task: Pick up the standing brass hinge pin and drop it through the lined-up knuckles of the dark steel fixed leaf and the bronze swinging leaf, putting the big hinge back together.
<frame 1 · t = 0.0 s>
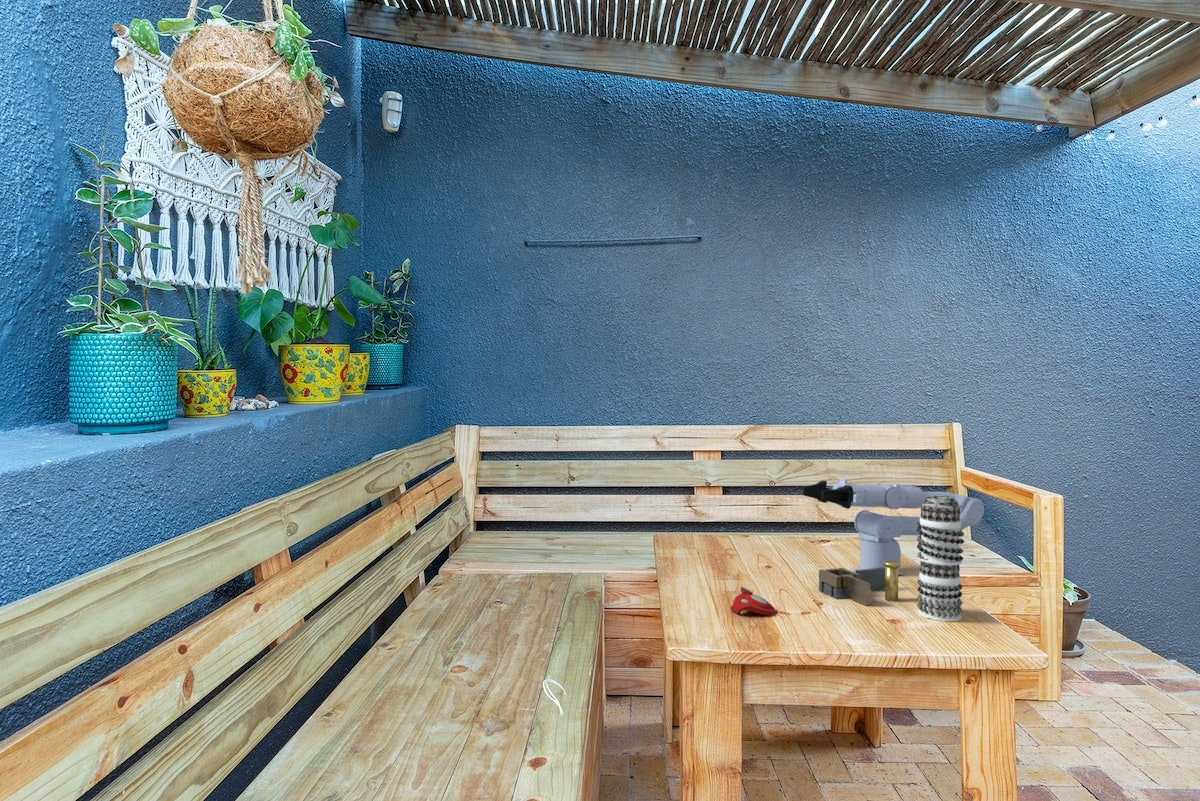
hand: (812, 493, 179), 22 cm above the table, tool horizontal, fingers open, 7 cm apart
fixed leaf: (839, 593, 168), on the table
hinge pin: (891, 600, 163), on the table
decorative candle: (939, 616, 152), on the table
tracker holder: (752, 610, 157), on the table
swing leaf: (848, 586, 165), point 3 cm above the table, hinge at 0.0°
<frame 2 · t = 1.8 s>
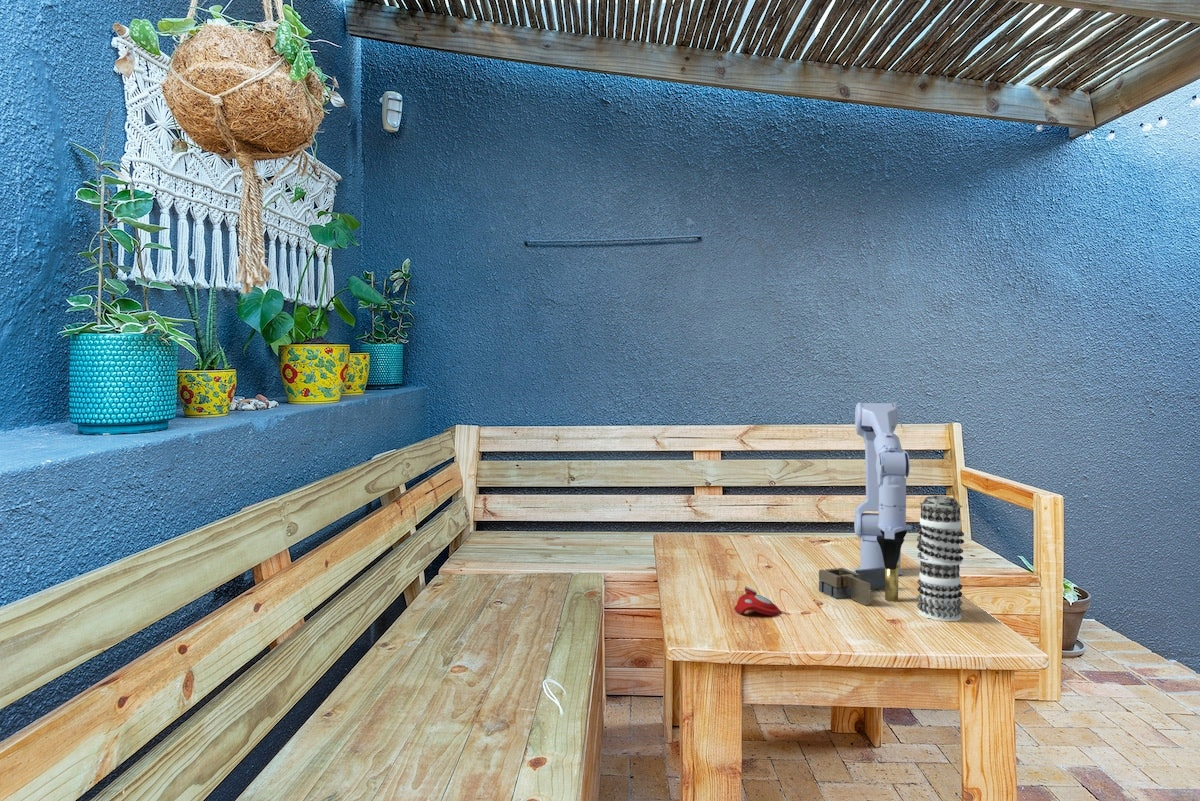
hand: (891, 564, 163), 8 cm above the table, tool pointing down, fingers open, 7 cm apart
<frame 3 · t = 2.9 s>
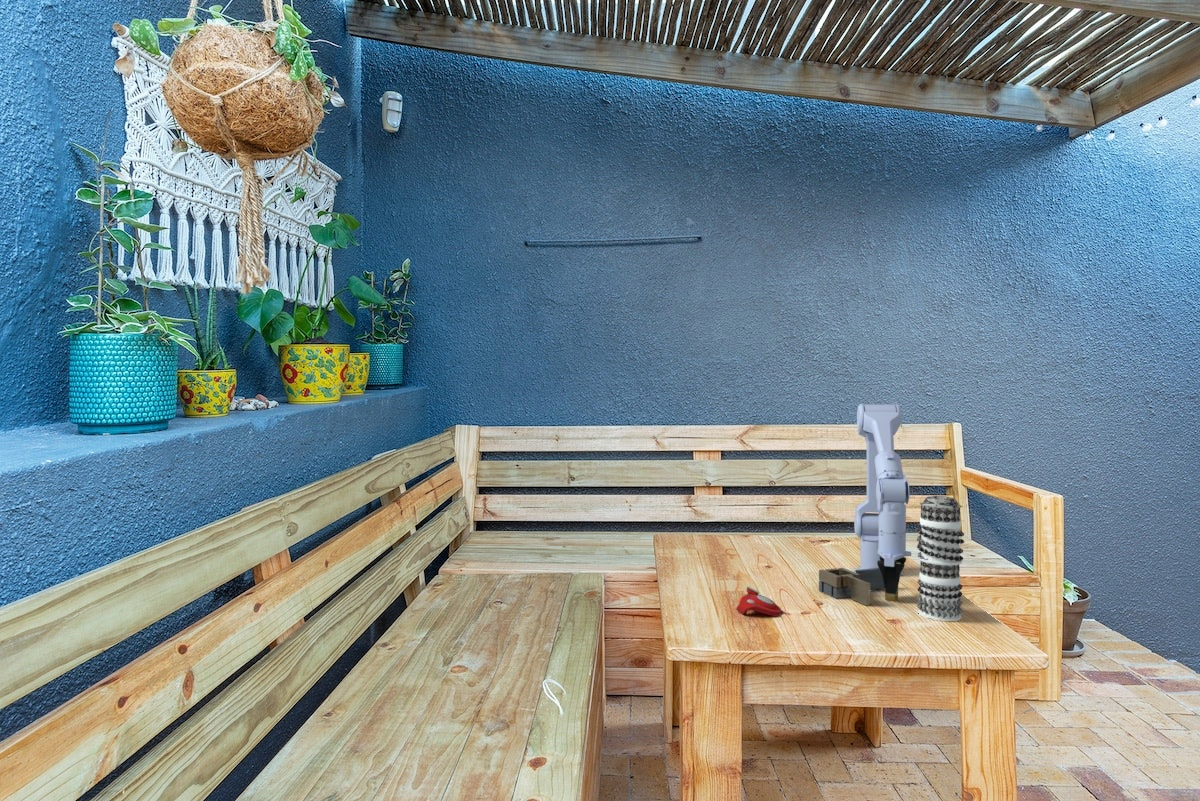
hand: (891, 591, 163), 2 cm above the table, tool pointing down, fingers closed on hinge pin, 3 cm apart
hinge pin: (891, 600, 163), on the table, touching gripper
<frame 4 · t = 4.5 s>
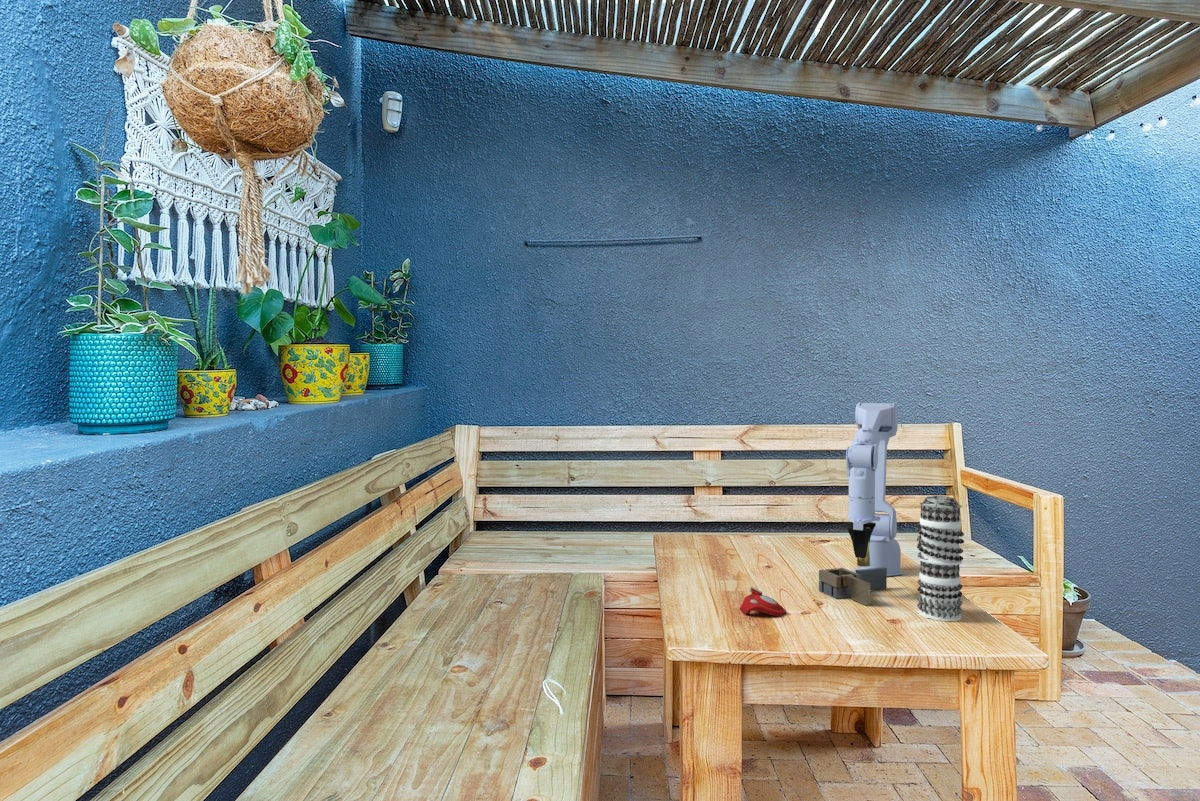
hand: (861, 555, 166), 9 cm above the table, tool pointing down, fingers closed on hinge pin, 3 cm apart
hinge pin: (863, 565, 165), point 7 cm above the table, touching gripper
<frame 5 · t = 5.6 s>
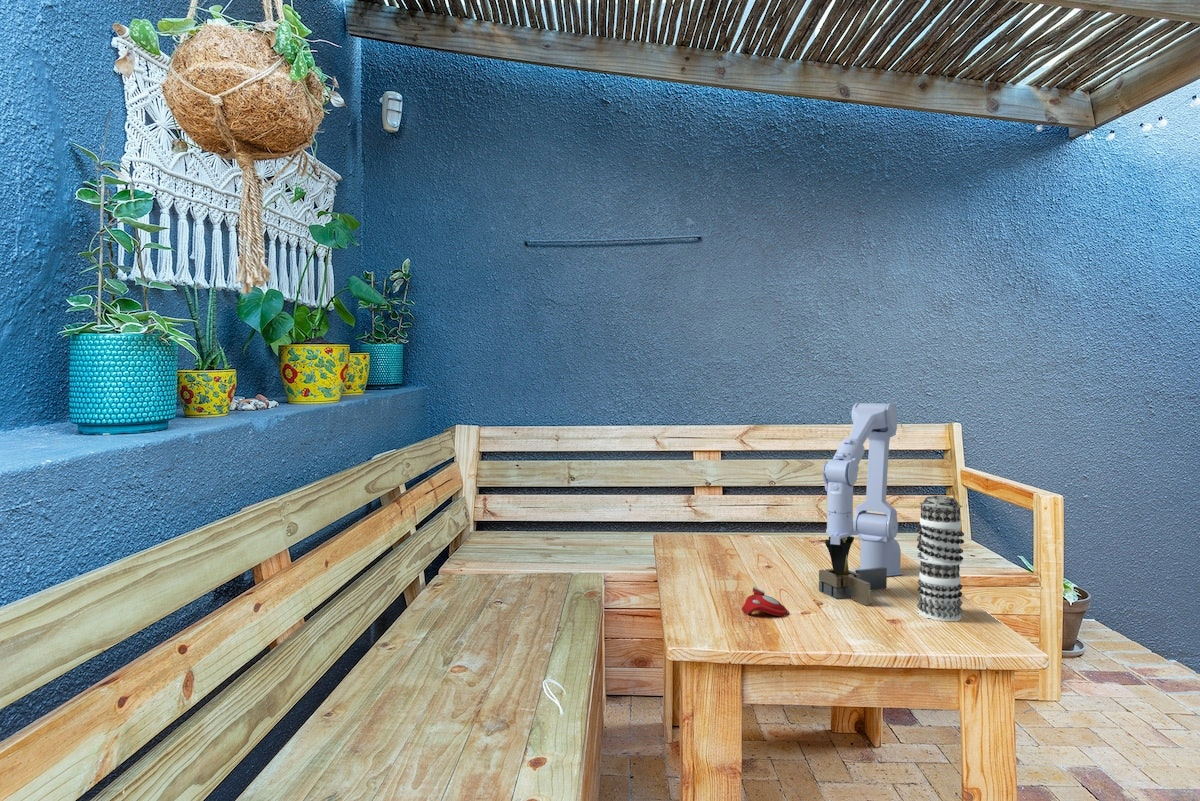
hand: (839, 569, 168), 6 cm above the table, tool pointing down, fingers closed on hinge pin, 3 cm apart
hinge pin: (842, 574, 167), point 5 cm above the table, tilted 7°, touching gripper
when the fingers open (6 cm above the table, at t = 6.2 s): hinge pin drops 5 cm, resting in fixed leaf.
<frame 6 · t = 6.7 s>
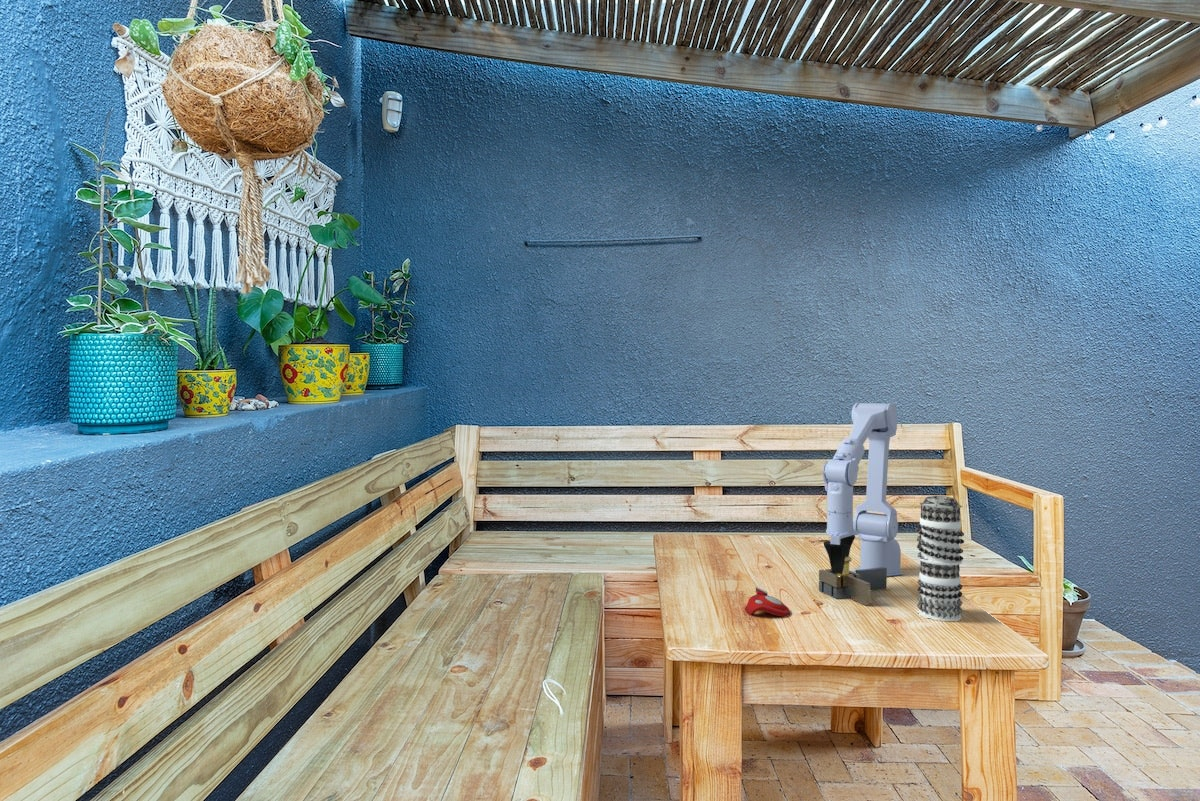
hand: (839, 569, 168), 6 cm above the table, tool pointing down, fingers open, 7 cm apart
hinge pin: (842, 594, 168), resting in fixed leaf
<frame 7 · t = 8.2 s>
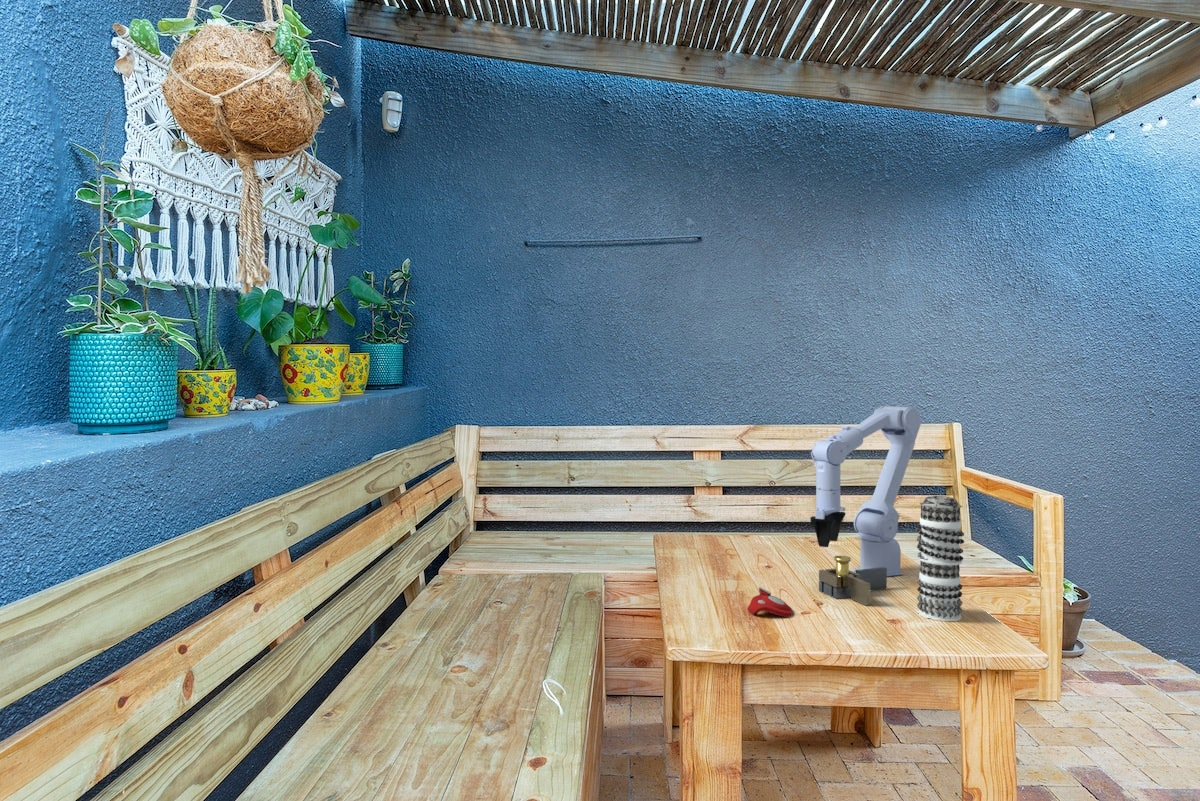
hand: (828, 543, 178), 9 cm above the table, tool pointing down, fingers open, 7 cm apart
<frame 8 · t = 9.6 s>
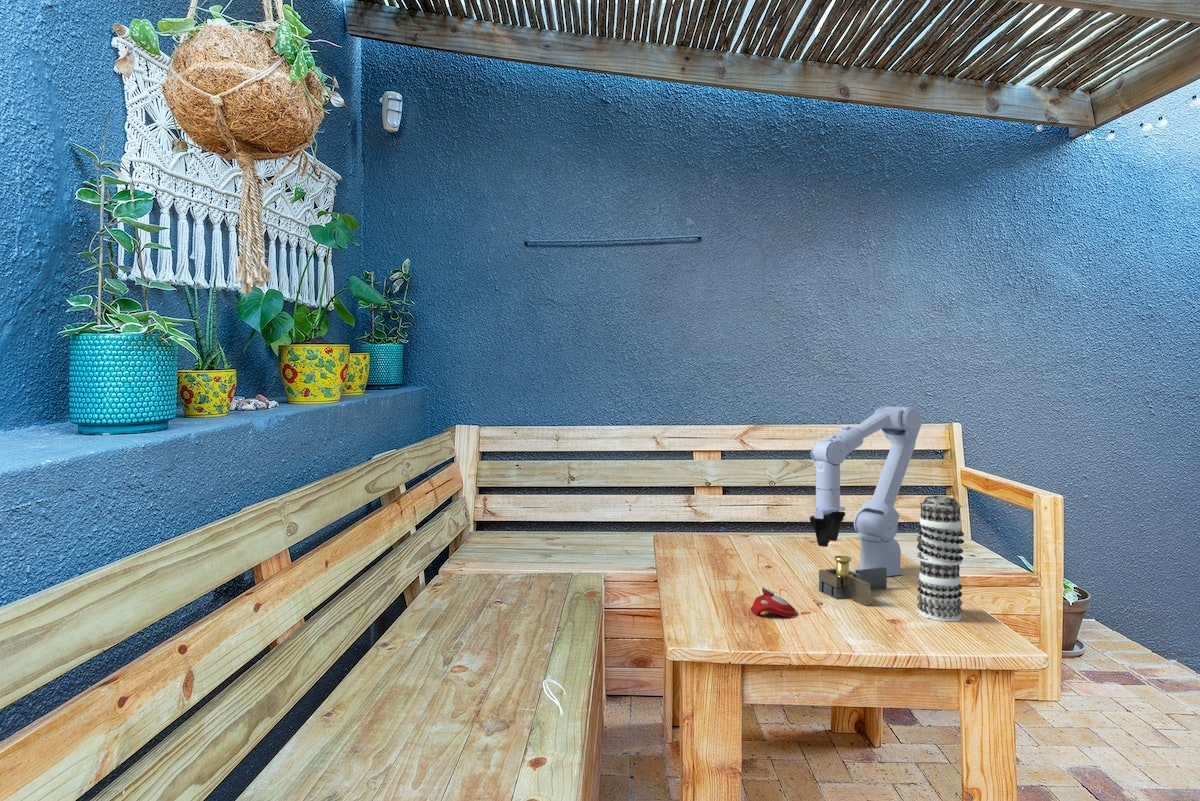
hand: (827, 543, 179), 9 cm above the table, tool pointing down, fingers open, 7 cm apart
at the end: hinge pin 0.7 cm off-centre on the fixed leaf, point 0.0 cm above the fixed leaf's base; hinge pin tilted 1°; the gripper is holding nothing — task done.
